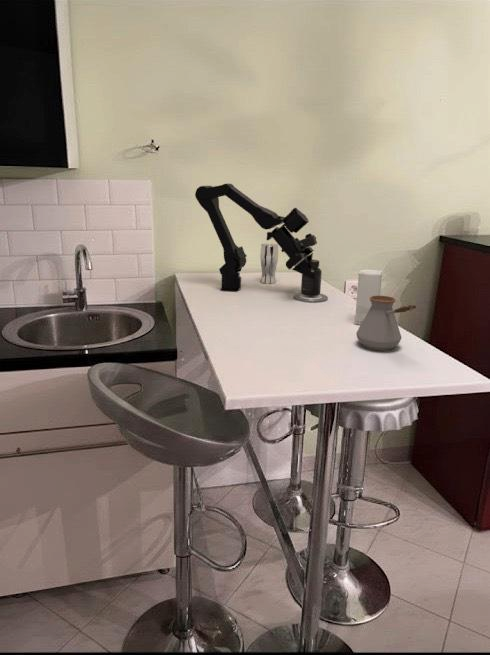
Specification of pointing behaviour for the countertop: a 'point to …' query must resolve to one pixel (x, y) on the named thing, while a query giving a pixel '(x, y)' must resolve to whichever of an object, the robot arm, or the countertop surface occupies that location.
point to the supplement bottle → (312, 280)
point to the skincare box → (367, 292)
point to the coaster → (310, 298)
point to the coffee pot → (381, 324)
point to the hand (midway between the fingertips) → (315, 276)
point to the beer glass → (268, 262)
